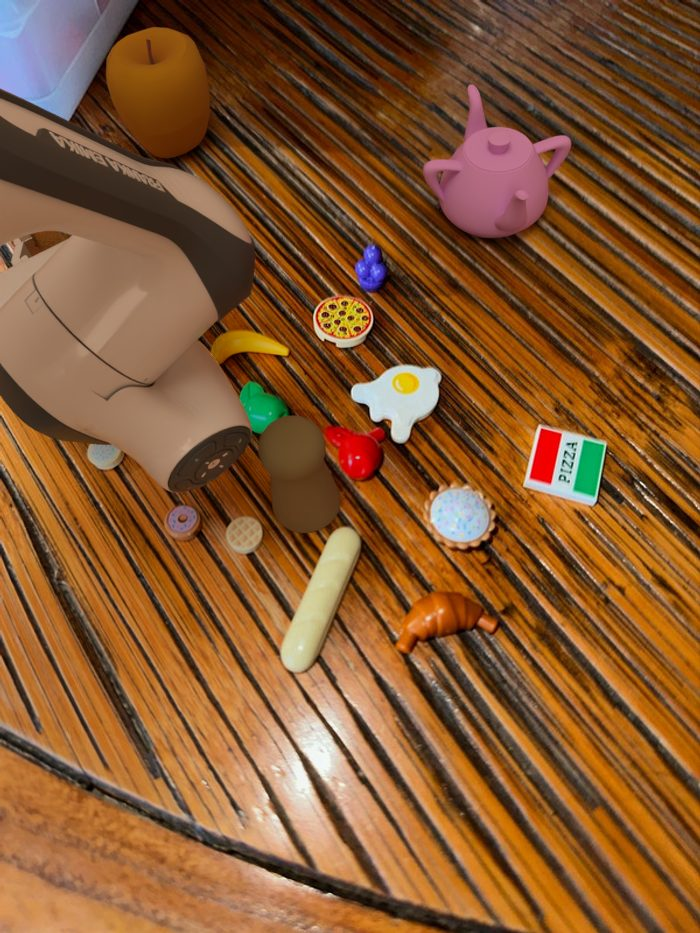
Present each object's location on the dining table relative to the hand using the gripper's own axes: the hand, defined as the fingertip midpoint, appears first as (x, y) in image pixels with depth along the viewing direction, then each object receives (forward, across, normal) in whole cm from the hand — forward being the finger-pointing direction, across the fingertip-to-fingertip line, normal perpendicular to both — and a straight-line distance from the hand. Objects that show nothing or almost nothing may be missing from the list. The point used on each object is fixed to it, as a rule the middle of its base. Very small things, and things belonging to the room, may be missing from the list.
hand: (51, 222), depth 66 cm
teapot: (-11, -41, +14) cm, 45 cm away
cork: (-29, -6, +14) cm, 33 cm away
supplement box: (-1, 0, +6) cm, 6 cm away
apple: (+20, -18, +14) cm, 31 cm away
